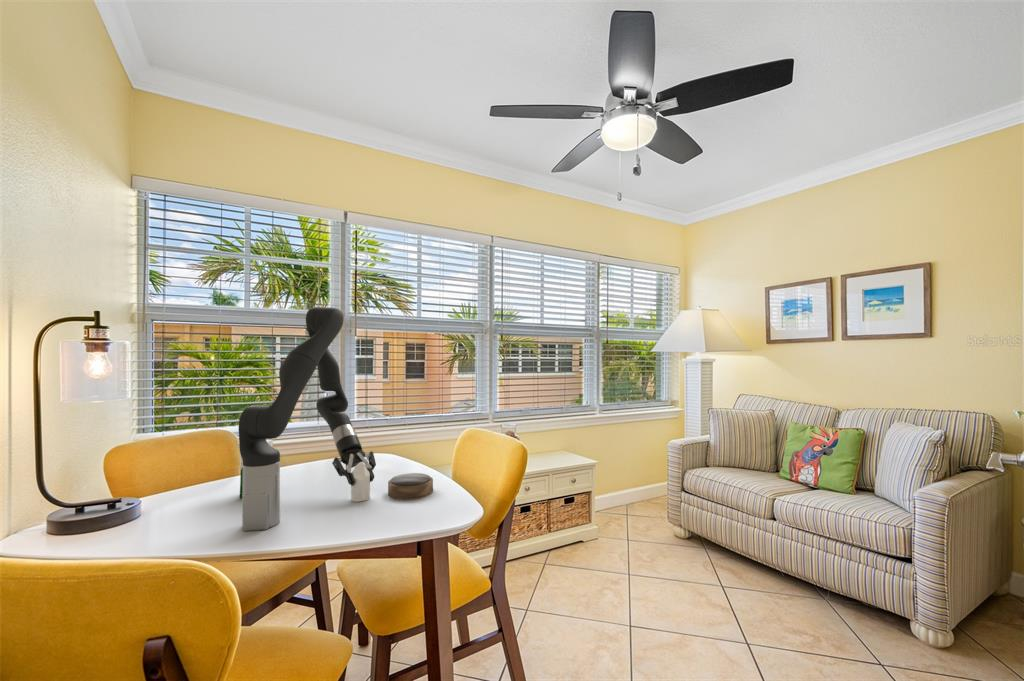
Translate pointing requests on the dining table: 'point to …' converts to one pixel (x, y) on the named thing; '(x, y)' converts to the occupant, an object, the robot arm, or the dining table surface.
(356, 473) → the white tall rounded piece
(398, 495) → the podium
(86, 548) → the dining table surface
